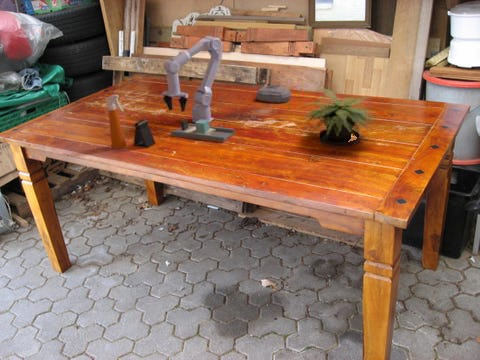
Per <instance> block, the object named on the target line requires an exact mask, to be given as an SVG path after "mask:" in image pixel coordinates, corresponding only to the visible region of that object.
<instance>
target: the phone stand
mask: <svg viewBox="0 0 480 360" xmlns="http://www.w3.org/2000/svg"><path fill="white" fill-rule="evenodd" d="M134 129H135V130H134V138H133V146H135V147H140V148H143V149H144V148H145V149H149V148H151V147H152V146H154V145H156V140H155V138H154V135H153V133H152V131H151V129H150V126H149V122H148V120H147V118H146V119H142V120H139V121H137V122H135V123H134Z"/></svg>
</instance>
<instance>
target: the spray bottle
mask: <svg viewBox="0 0 480 360" xmlns="http://www.w3.org/2000/svg"><path fill="white" fill-rule="evenodd" d="M119 97H120V96H119V94H112V95H110V96H107V97H106V98H105V99H104V101H105V102H106V103H107V111H108V121H109V129H110V130H109V131H110V140H111V147H112V149H114V150H121V149H124V148H126V147H127V145H128V144H127V141H126V137H125V134H124V131H123V128H122V123H121V119H120V117H119V114H118V111H117V108H118V109H119V110H120V111H121V112H124V109H123V107H122V105H120V102H119V99H118V98H119Z"/></svg>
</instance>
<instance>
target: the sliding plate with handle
mask: <svg viewBox="0 0 480 360" xmlns="http://www.w3.org/2000/svg"><path fill="white" fill-rule="evenodd" d="M188 124H189V120H188V119H187V118H185V119H183V120H181V121H180V128H182V129H181V130H180V131H182V132H190V133H198V132H196V127H195V126H188ZM215 131H216V129H212V128H210V130H209V131H207V132H206V133H198V134H206V135H211V134H213V133H214V132H215Z"/></svg>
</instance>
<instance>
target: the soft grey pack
mask: <svg viewBox="0 0 480 360" xmlns="http://www.w3.org/2000/svg"><path fill="white" fill-rule="evenodd" d="M291 96H292V92H291V91H290V89H288V87H287V88H286V87H284V86H279V85H271V84H270V85H269V84H268V85H266V86H261V87H260V88H259V89H258V90H257V92H256V99H257V100H258V101H260V102H263V101H264V102H265V103H275V104H276V103H278V104H280V103H286V102H289V101H290V100H291Z"/></svg>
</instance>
